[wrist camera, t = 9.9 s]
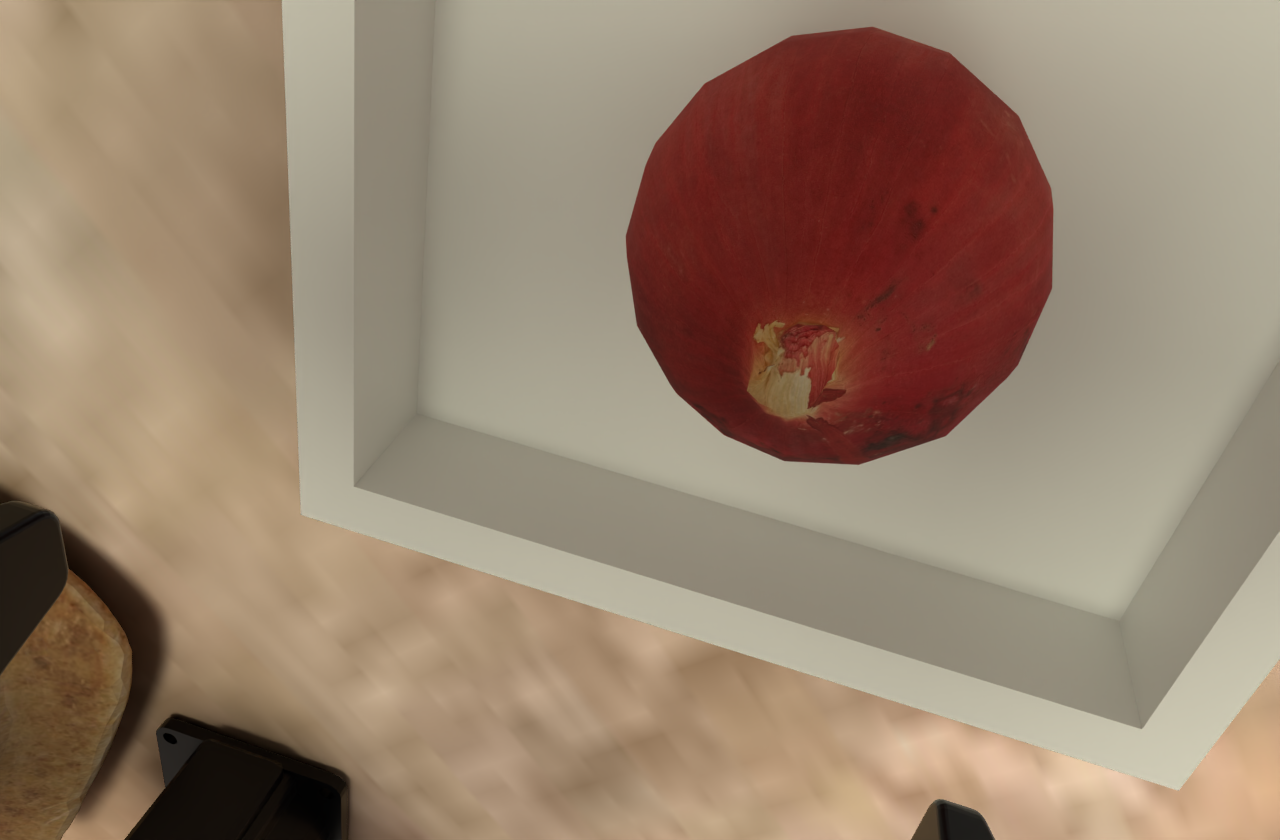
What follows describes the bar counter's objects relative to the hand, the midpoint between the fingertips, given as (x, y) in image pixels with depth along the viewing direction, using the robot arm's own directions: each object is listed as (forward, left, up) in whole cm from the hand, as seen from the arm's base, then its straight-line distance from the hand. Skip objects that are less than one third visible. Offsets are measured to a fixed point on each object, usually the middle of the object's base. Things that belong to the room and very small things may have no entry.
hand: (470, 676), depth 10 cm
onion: (+2, -2, -11) cm, 12 cm away
